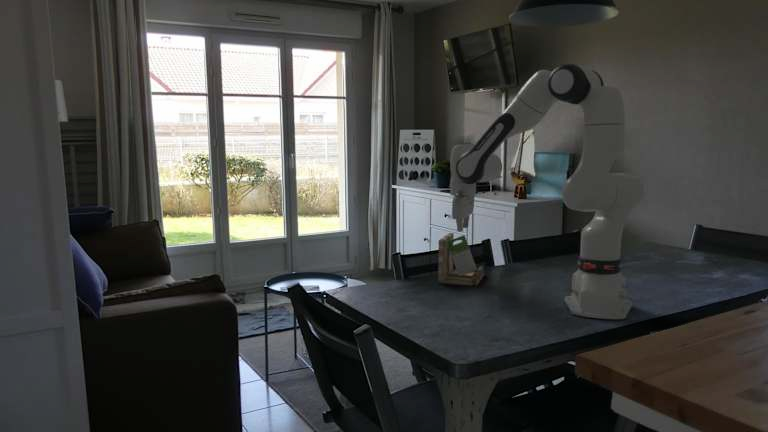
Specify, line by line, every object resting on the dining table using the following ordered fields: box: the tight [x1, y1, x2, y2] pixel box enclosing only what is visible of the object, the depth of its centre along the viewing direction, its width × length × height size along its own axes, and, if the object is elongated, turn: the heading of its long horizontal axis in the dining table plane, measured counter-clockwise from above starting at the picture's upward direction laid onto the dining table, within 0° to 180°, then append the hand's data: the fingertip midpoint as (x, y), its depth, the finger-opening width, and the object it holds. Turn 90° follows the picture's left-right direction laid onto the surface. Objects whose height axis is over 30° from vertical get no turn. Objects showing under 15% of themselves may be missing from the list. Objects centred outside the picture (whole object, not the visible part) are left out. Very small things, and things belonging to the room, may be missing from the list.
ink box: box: [447, 234, 478, 276], centre depth 200 cm, size 7×4×13 cm, turn 88°
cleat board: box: [437, 232, 485, 287], centre depth 200 cm, size 16×13×15 cm
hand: (462, 229), depth 198 cm, fingers open, 8 cm apart
